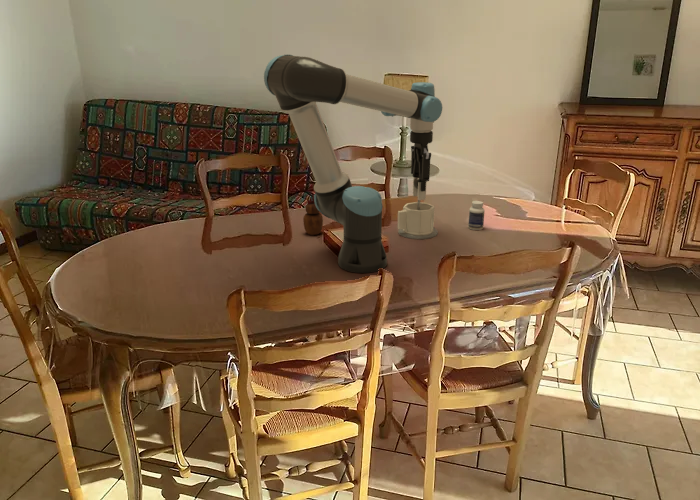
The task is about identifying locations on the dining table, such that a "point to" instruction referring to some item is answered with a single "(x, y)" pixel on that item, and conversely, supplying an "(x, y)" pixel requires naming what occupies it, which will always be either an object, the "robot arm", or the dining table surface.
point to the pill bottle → (476, 216)
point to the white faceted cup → (417, 221)
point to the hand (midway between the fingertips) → (419, 197)
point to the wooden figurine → (312, 218)
